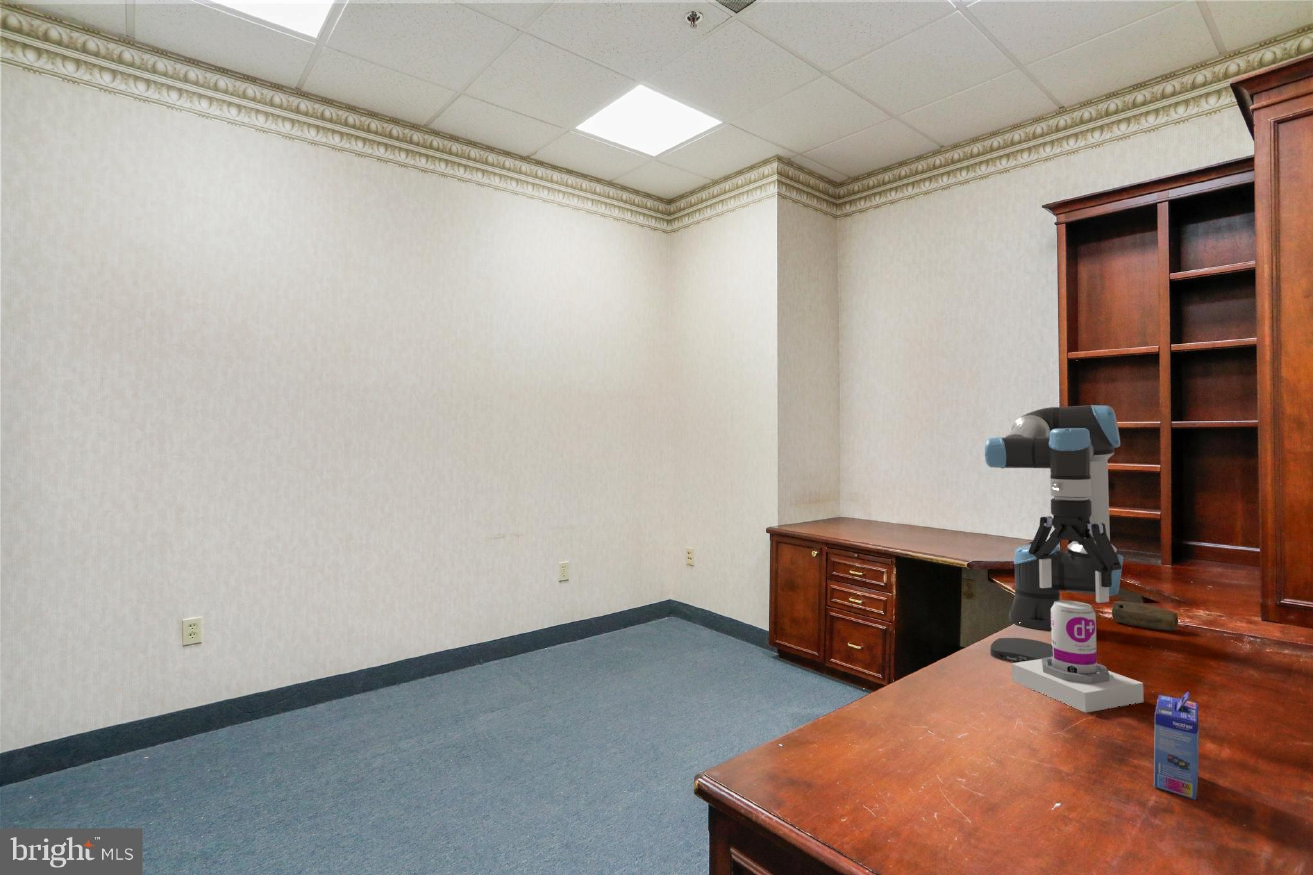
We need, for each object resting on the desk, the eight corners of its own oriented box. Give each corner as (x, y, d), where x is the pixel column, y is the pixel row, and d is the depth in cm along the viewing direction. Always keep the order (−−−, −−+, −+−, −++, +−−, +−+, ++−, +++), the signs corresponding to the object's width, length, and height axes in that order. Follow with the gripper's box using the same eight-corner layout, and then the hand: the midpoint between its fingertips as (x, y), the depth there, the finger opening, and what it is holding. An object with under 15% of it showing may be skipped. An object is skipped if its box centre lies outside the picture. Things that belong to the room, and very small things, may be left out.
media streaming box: (1065, 656, 161) (1065, 644, 161) (1052, 671, 151) (1052, 659, 151) (1002, 644, 171) (1002, 633, 171) (986, 658, 161) (986, 646, 161)
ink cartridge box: (1199, 802, 96) (1197, 706, 96) (1153, 789, 100) (1151, 697, 100) (1200, 775, 104) (1198, 687, 104) (1157, 764, 107) (1155, 679, 107)
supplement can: (1104, 680, 134) (1102, 610, 134) (1061, 678, 135) (1059, 608, 135) (1086, 667, 142) (1084, 600, 142) (1045, 665, 143) (1044, 599, 143)
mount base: (1011, 680, 145) (1011, 656, 145) (1065, 672, 149) (1065, 649, 149) (1085, 712, 127) (1084, 685, 128) (1143, 702, 132) (1142, 675, 132)
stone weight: (1110, 625, 186) (1110, 602, 186) (1115, 620, 191) (1114, 597, 191) (1176, 635, 176) (1176, 611, 176) (1179, 629, 181) (1178, 606, 181)
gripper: (1010, 494, 150) (1012, 583, 150) (1113, 504, 126) (1115, 610, 126) (1035, 492, 152) (1037, 580, 152) (1141, 502, 128) (1143, 606, 128)
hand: (1072, 594), depth 139 cm, fingers open, 13 cm apart
